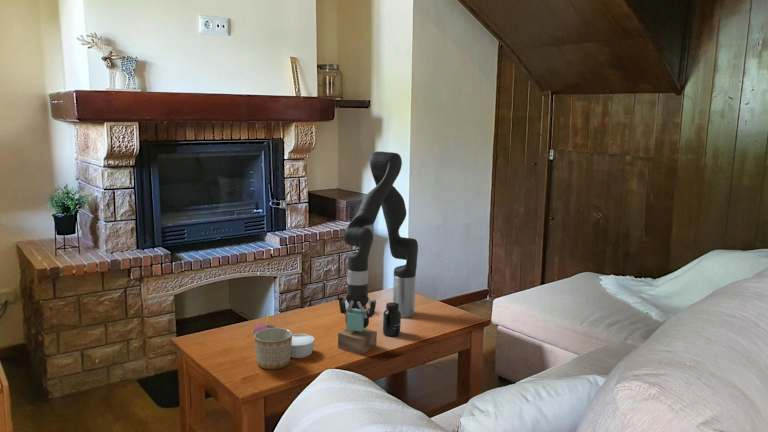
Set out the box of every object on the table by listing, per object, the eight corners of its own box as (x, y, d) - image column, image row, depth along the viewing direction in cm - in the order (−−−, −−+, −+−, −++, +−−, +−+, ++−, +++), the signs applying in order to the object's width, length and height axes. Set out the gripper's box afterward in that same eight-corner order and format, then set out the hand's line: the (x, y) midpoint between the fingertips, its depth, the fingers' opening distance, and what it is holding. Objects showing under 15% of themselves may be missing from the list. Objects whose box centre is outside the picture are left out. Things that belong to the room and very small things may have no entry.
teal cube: (352, 323, 224) (352, 308, 223) (367, 326, 222) (367, 310, 221) (346, 329, 218) (346, 313, 217) (361, 331, 216) (362, 315, 215)
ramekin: (313, 346, 221) (313, 332, 220) (316, 358, 210) (316, 344, 209) (282, 348, 219) (281, 334, 218) (283, 360, 208) (283, 346, 207)
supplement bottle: (398, 337, 231) (399, 307, 229) (381, 336, 232) (381, 306, 230) (401, 331, 238) (402, 302, 235) (384, 329, 239) (385, 300, 237)
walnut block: (354, 340, 228) (355, 325, 227) (376, 346, 222) (376, 331, 221) (338, 348, 220) (338, 333, 219) (359, 355, 214) (360, 339, 213)
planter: (248, 361, 207) (248, 332, 205) (282, 353, 214) (282, 325, 212) (264, 374, 197) (263, 344, 195) (298, 365, 204) (298, 336, 202)
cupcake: (280, 340, 226) (280, 309, 224) (268, 348, 218) (268, 316, 216) (260, 337, 229) (259, 306, 226) (248, 345, 221) (247, 313, 219)
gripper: (380, 280, 218) (379, 325, 221) (343, 276, 223) (342, 320, 226) (373, 286, 211) (372, 332, 214) (335, 281, 216) (334, 326, 219)
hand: (357, 325), depth 220 cm, fingers closed on teal cube, 6 cm apart
